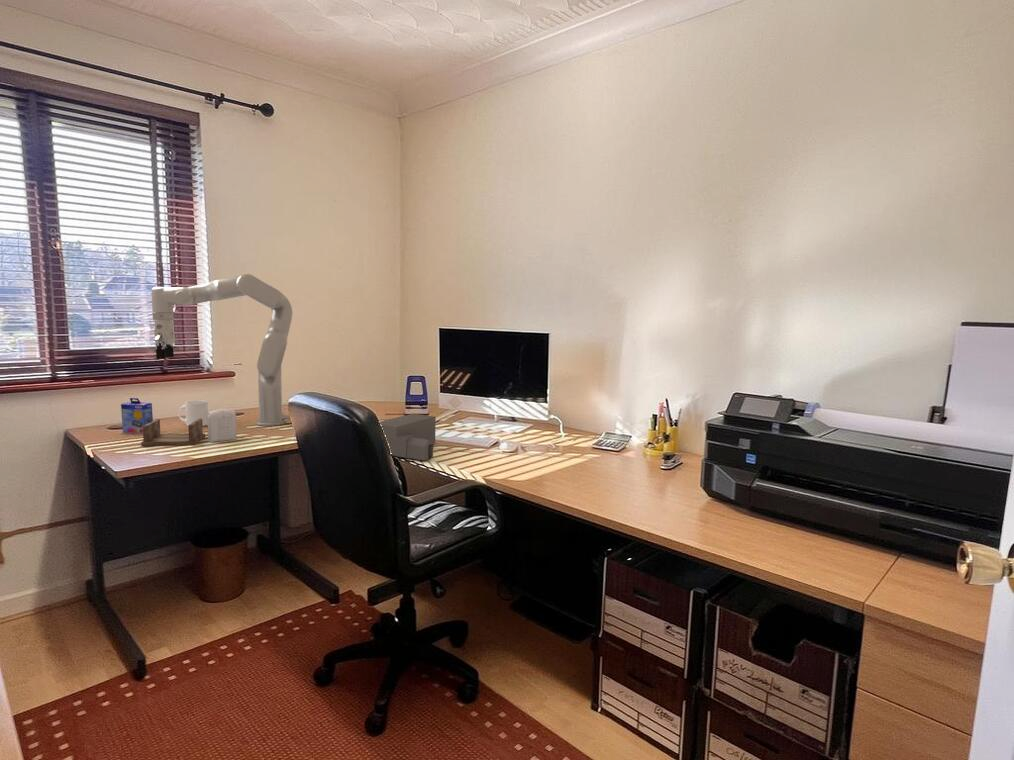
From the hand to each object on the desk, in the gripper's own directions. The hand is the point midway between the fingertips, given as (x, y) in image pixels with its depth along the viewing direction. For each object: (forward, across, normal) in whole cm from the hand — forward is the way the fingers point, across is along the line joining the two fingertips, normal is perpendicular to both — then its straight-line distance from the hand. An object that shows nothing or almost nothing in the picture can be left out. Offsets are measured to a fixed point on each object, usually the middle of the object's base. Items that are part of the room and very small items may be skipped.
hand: (165, 358), depth 240 cm
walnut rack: (+30, -26, -10) cm, 41 cm away
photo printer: (+31, -26, -27) cm, 48 cm away
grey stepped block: (+31, -48, -102) cm, 117 cm away
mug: (+30, +5, -8) cm, 32 cm away
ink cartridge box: (+30, -8, +9) cm, 32 cm away
